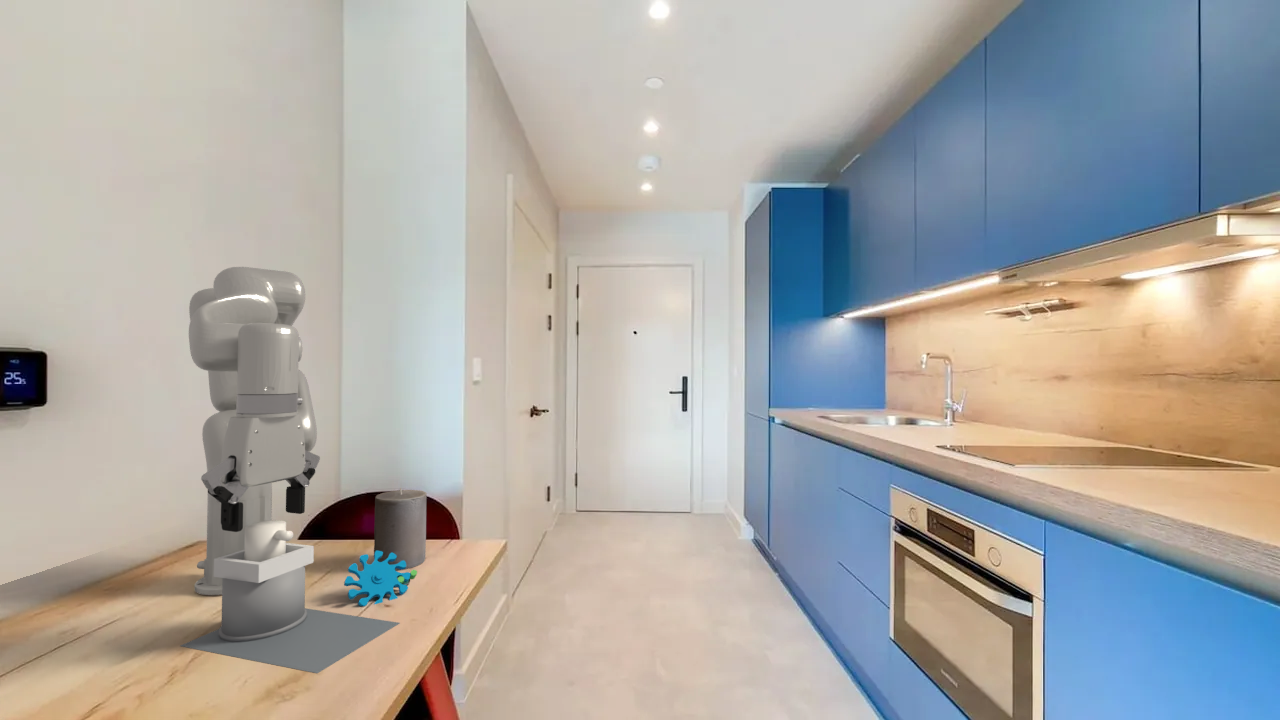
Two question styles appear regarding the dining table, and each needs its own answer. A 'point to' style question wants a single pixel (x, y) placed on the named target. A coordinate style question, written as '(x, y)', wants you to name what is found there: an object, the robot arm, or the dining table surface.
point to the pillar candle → (401, 526)
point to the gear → (378, 578)
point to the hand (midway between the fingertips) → (265, 521)
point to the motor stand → (281, 615)
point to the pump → (266, 540)
